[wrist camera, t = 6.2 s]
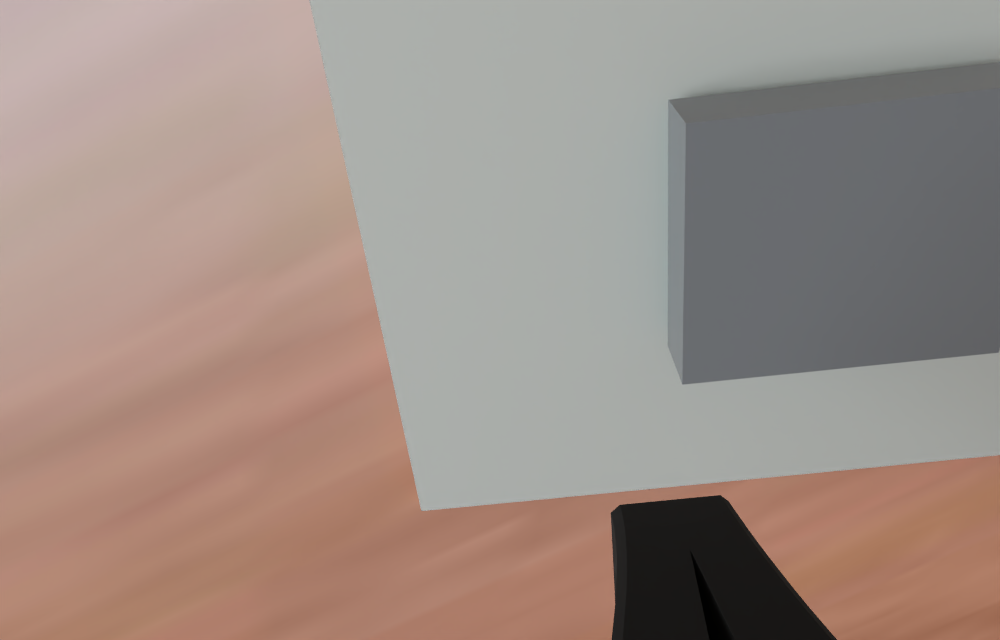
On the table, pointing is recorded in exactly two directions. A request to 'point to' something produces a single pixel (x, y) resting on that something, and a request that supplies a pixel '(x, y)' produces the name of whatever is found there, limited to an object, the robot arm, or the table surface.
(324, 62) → the felt mat
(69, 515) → the table surface
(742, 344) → the glazed tile
